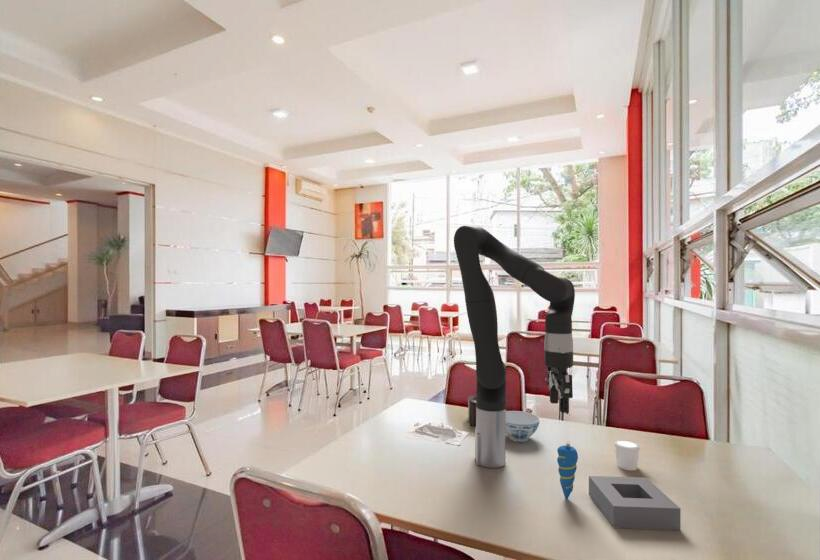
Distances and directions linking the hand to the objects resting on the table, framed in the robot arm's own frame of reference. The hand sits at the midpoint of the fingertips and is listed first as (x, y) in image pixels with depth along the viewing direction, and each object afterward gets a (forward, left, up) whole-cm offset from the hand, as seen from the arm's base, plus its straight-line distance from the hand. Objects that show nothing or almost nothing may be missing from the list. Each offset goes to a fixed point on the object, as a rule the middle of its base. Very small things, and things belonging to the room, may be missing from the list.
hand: (559, 407), depth 113 cm
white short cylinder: (+25, +15, -22) cm, 37 cm away
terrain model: (-33, +38, -23) cm, 56 cm away
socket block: (+14, -11, -22) cm, 29 cm away
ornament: (0, -6, -22) cm, 23 cm away
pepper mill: (-15, +55, -22) cm, 62 cm away
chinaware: (-4, +36, -22) cm, 43 cm away
